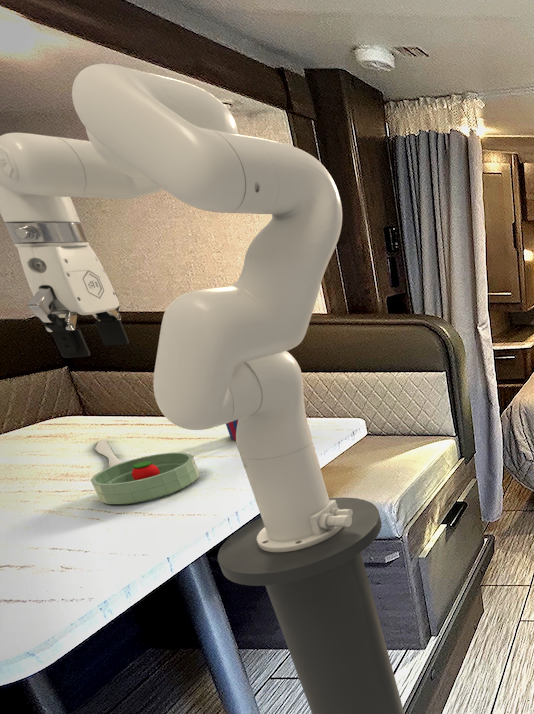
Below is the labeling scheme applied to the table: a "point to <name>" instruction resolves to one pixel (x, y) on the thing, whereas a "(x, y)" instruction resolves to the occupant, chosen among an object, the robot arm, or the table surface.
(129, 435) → the table surface
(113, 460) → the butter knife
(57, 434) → the table surface
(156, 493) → the bowl
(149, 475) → the strawberry
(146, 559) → the table surface
